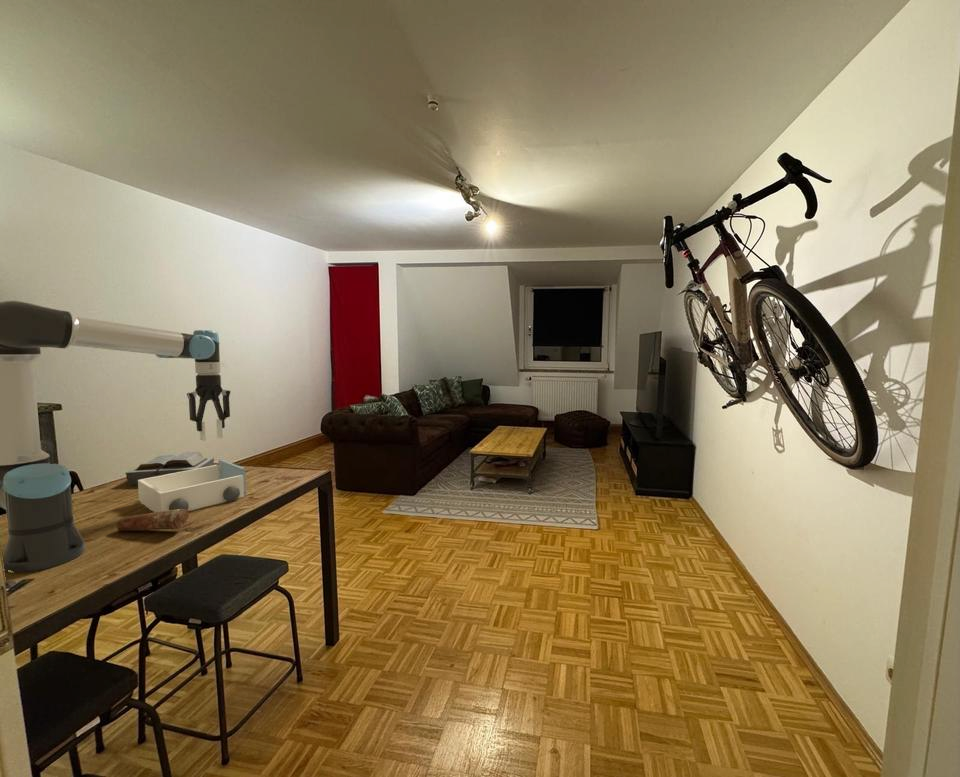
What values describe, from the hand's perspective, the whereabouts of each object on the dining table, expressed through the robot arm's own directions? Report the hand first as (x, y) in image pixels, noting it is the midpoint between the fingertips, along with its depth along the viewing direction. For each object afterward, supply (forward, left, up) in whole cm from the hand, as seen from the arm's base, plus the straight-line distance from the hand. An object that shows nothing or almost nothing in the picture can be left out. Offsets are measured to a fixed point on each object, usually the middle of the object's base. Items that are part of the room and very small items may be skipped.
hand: (211, 438), depth 158 cm
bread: (-23, -22, -22) cm, 39 cm away
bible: (-2, +33, -21) cm, 39 cm away
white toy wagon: (-7, 0, -21) cm, 22 cm away
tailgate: (+6, 0, -20) cm, 21 cm away
